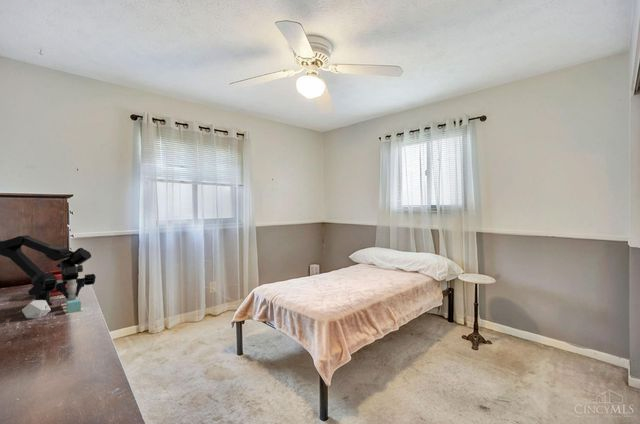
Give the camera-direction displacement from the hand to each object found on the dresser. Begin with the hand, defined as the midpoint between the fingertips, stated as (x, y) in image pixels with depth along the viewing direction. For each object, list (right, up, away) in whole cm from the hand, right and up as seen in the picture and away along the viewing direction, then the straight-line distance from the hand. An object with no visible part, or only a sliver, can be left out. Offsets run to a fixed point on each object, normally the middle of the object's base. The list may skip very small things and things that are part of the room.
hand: (72, 297), depth 136 cm
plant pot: (-33, -6, +27) cm, 43 cm away
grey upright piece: (-1, -7, +1) cm, 7 cm away
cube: (+3, -5, -3) cm, 7 cm away
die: (-8, -7, -9) cm, 14 cm away
